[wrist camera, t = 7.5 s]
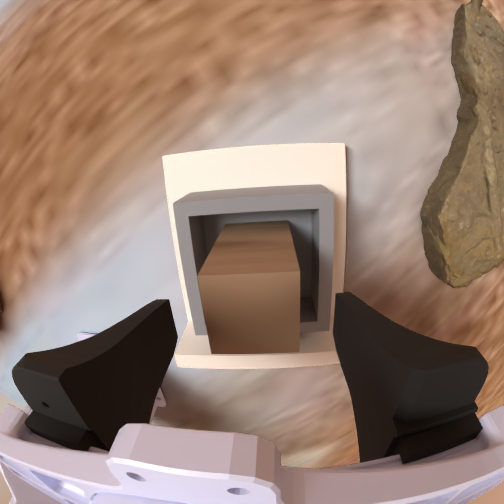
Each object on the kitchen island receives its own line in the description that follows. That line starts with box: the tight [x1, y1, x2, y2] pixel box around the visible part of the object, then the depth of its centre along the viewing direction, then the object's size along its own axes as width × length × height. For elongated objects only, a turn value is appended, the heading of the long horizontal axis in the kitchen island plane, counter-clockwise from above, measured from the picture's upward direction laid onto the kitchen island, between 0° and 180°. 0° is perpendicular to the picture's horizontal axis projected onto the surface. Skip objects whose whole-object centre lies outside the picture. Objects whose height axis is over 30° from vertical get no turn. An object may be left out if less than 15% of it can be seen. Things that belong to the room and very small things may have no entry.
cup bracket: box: [162, 143, 346, 369], centre depth 18 cm, size 14×12×5 cm
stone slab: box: [421, 0, 504, 288], centre depth 15 cm, size 27×12×5 cm, turn 172°
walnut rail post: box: [197, 220, 300, 354], centre depth 16 cm, size 4×4×8 cm
